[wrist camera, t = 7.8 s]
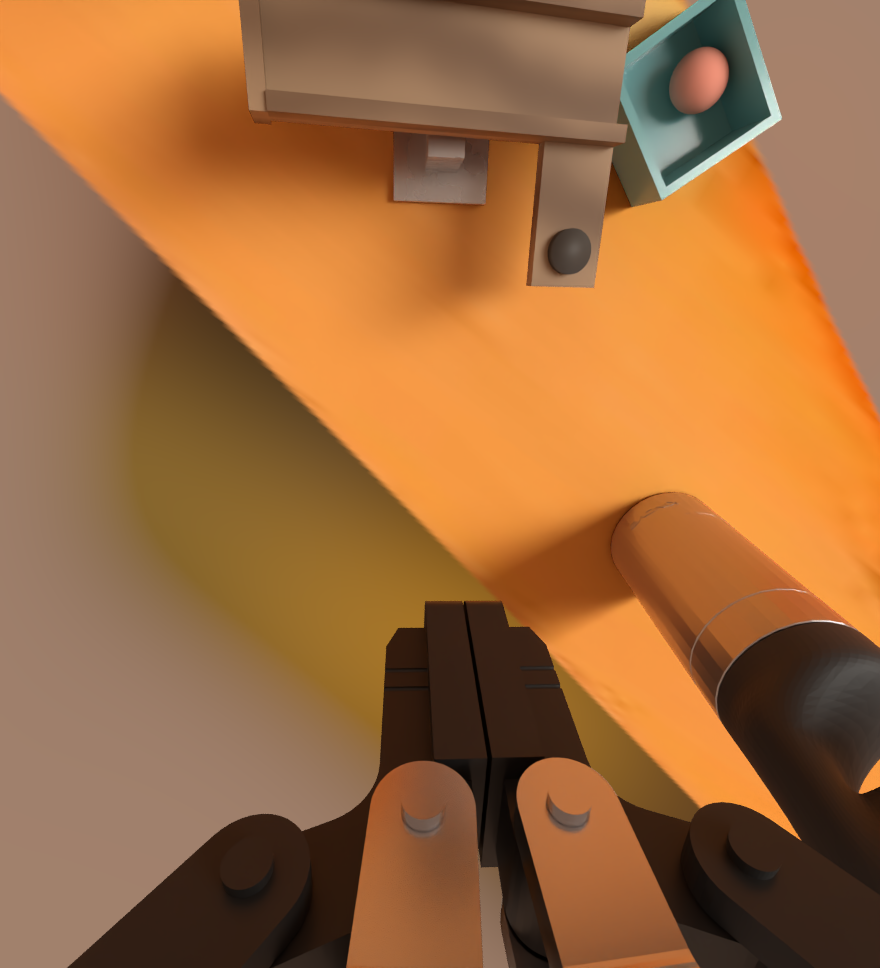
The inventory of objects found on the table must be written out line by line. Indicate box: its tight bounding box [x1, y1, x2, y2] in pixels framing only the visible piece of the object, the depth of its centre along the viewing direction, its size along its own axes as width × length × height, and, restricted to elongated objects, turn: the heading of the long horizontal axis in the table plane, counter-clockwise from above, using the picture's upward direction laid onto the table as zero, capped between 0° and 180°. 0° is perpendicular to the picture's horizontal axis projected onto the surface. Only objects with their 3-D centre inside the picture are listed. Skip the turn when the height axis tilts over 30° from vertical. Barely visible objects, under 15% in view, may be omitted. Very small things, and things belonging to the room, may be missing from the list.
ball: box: [669, 47, 729, 114], centre depth 31 cm, size 3×3×3 cm
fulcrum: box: [394, 131, 489, 205], centre depth 29 cm, size 11×6×8 cm, turn 178°
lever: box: [239, 0, 646, 288], centre depth 27 cm, size 13×19×3 cm
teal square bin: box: [612, 0, 782, 207], centre depth 32 cm, size 8×8×5 cm
